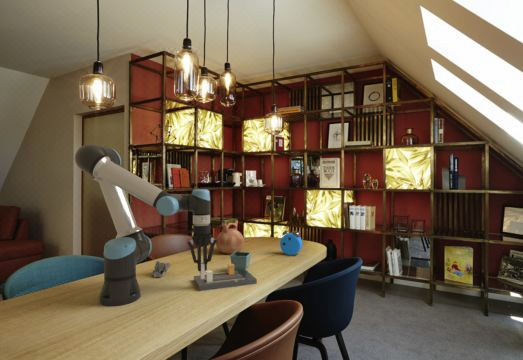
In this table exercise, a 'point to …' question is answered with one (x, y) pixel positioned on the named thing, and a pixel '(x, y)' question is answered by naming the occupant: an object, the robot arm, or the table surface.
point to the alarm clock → (291, 243)
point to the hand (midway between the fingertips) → (202, 278)
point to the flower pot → (240, 260)
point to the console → (225, 280)
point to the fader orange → (231, 269)
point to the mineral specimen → (160, 269)
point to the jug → (229, 239)
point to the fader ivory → (209, 276)
